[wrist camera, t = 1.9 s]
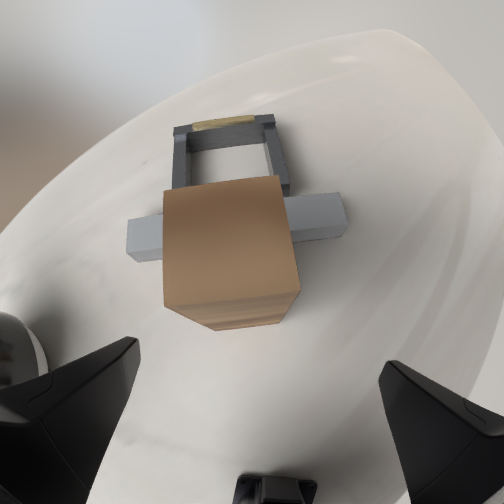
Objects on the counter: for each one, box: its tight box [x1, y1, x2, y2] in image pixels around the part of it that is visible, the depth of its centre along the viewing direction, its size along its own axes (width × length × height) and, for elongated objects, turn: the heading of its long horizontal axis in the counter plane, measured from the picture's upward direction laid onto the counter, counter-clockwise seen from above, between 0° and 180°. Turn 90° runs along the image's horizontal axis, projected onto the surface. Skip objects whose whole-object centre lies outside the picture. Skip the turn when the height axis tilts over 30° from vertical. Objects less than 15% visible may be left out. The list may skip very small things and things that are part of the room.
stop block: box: [163, 175, 301, 331], centre depth 16 cm, size 5×5×12 cm
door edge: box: [126, 193, 348, 262], centre depth 22 cm, size 3×18×2 cm, turn 97°
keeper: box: [172, 114, 290, 198], centre depth 25 cm, size 8×10×3 cm
